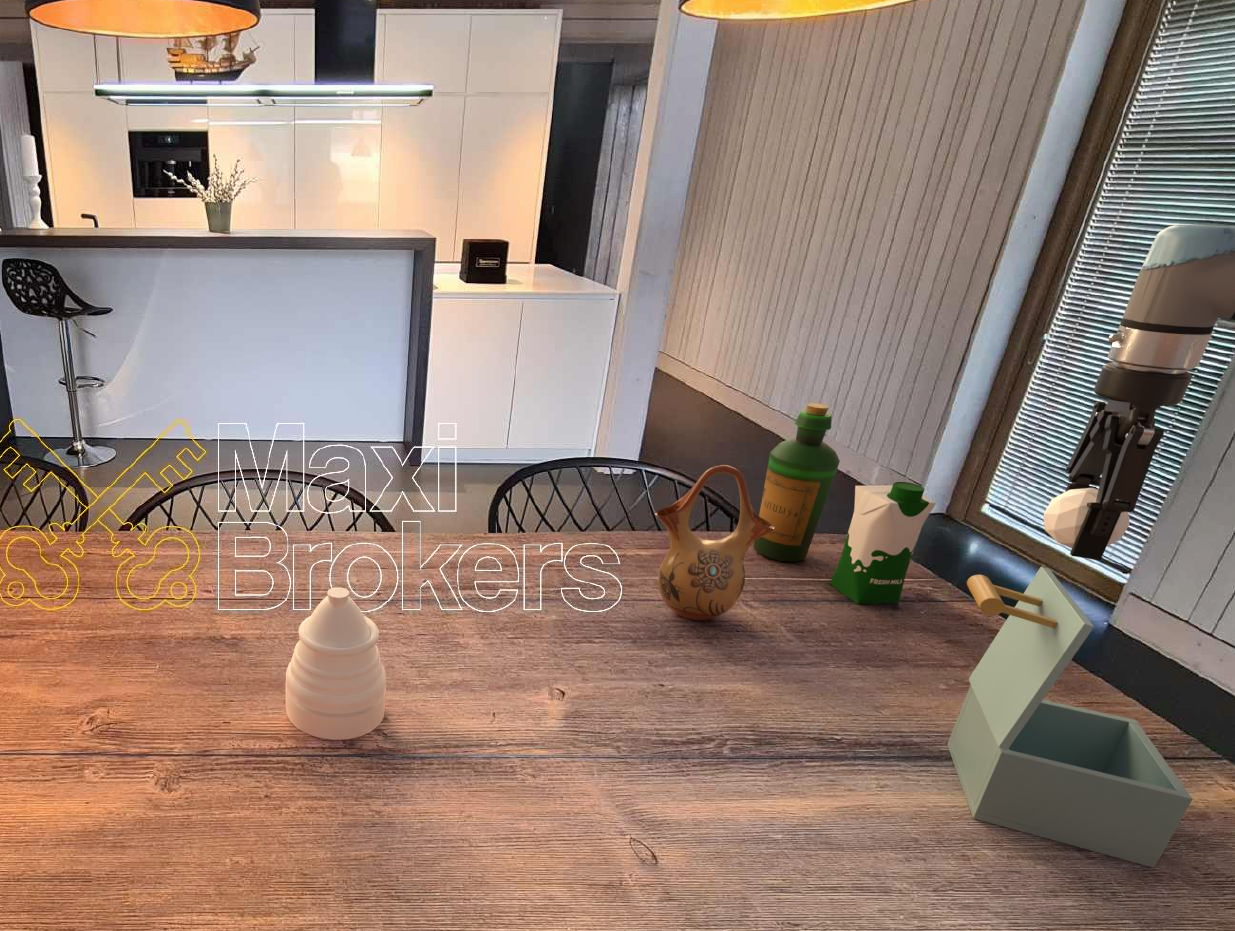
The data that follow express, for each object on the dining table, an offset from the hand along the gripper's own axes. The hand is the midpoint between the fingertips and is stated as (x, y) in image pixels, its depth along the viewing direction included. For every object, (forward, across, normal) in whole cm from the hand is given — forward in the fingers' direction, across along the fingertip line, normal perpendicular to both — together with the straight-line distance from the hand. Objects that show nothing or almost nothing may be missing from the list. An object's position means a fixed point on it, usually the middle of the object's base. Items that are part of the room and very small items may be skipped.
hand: (1074, 544), depth 102 cm
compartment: (+21, +27, -3) cm, 35 cm away
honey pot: (+21, +50, -80) cm, 96 cm away
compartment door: (+4, +27, -9) cm, 29 cm away
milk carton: (+21, -20, -16) cm, 34 cm away
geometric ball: (+1, 0, 0) cm, 1 cm away
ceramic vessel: (+21, +1, -41) cm, 46 cm away
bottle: (+21, -31, -28) cm, 47 cm away
